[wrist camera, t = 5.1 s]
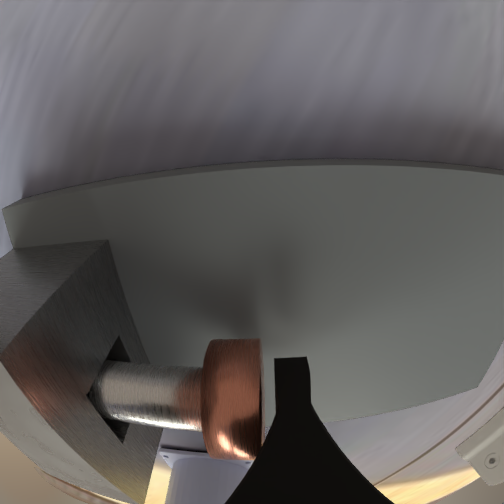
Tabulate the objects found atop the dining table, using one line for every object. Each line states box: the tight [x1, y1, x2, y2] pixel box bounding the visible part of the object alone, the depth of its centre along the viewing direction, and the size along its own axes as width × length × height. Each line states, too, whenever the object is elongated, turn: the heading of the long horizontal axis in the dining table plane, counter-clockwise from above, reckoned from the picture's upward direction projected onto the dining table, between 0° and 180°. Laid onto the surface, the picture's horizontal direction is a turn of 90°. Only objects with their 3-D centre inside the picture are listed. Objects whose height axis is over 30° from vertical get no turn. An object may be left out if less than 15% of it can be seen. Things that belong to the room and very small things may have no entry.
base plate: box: [2, 159, 504, 426], centre depth 12 cm, size 14×26×2 cm, turn 95°
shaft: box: [86, 338, 265, 460], centre depth 10 cm, size 4×15×4 cm, turn 95°
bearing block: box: [0, 239, 163, 504], centre depth 9 cm, size 10×6×6 cm, turn 4°
